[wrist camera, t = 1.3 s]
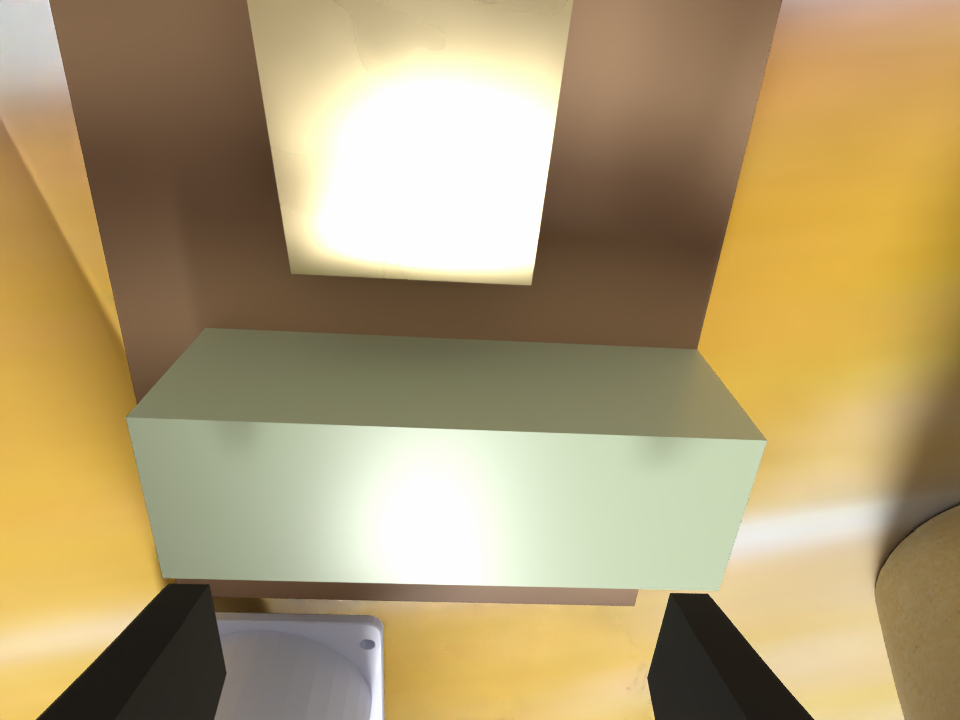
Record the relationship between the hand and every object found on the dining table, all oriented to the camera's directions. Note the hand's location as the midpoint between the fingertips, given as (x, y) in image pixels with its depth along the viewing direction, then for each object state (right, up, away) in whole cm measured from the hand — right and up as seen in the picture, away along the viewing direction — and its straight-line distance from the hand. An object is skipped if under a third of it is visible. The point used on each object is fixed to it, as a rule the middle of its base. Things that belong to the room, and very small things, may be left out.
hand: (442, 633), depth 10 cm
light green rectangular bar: (0, +3, +6) cm, 7 cm away
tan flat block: (-1, +9, +1) cm, 9 cm away
